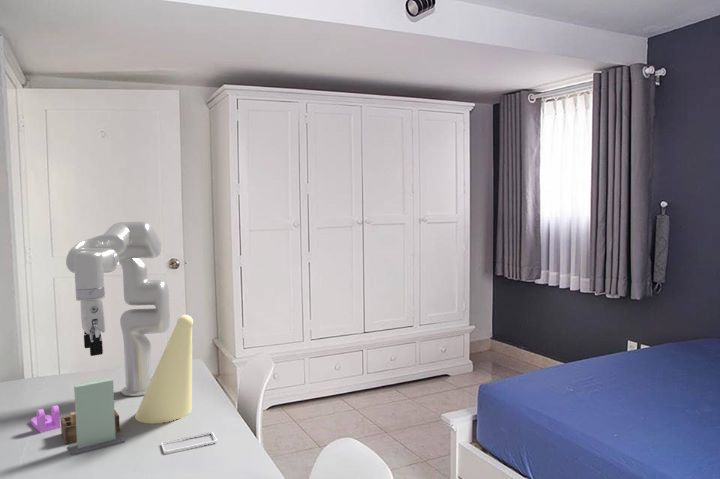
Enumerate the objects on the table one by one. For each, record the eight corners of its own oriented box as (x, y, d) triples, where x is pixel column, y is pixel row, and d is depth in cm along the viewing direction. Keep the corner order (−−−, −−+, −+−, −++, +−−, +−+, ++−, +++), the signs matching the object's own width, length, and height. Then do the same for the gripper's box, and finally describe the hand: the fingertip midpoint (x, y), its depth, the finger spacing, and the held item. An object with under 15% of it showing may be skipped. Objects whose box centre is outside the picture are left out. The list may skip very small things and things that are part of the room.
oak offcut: (89, 434, 168) (88, 408, 167) (90, 436, 165) (89, 411, 165) (71, 438, 165) (70, 412, 164) (72, 441, 163) (71, 415, 162)
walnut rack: (113, 421, 177) (112, 407, 176) (119, 431, 169) (119, 415, 169) (61, 433, 168) (60, 418, 168) (65, 444, 160) (64, 427, 160)
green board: (113, 436, 164) (111, 378, 163) (115, 439, 162) (113, 380, 161) (77, 445, 158) (74, 384, 157) (78, 448, 156) (75, 387, 155)
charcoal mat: (119, 434, 167) (119, 432, 167) (124, 442, 161) (124, 440, 161) (68, 446, 159) (68, 444, 159) (72, 455, 153) (72, 453, 153)
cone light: (123, 415, 182) (119, 313, 180) (170, 399, 197) (166, 304, 195) (168, 432, 168) (164, 321, 166) (215, 413, 183) (211, 311, 181)
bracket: (60, 428, 173) (59, 406, 172) (40, 433, 169) (39, 411, 168) (48, 417, 182) (46, 397, 181) (29, 422, 178) (28, 401, 178)
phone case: (164, 456, 153) (217, 444, 160) (164, 451, 153) (217, 440, 159) (161, 446, 159) (212, 435, 166) (160, 441, 159) (212, 431, 166)
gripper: (110, 296, 153) (113, 355, 154) (98, 288, 167) (101, 342, 168) (81, 299, 148) (84, 360, 150) (71, 291, 162) (74, 346, 164)
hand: (93, 351), depth 159 cm, fingers open, 9 cm apart
